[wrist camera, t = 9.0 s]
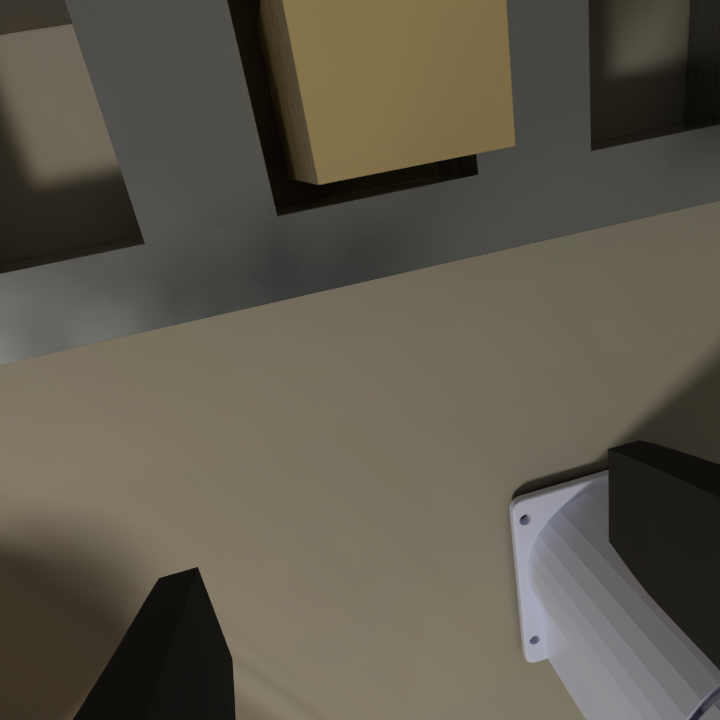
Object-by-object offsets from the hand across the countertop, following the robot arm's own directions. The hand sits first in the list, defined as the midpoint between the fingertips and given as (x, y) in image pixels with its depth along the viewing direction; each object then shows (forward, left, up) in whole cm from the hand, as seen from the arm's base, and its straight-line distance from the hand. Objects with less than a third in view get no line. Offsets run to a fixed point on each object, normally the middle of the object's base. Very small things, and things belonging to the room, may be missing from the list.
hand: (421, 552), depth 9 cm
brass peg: (+8, -2, -10) cm, 13 cm away
